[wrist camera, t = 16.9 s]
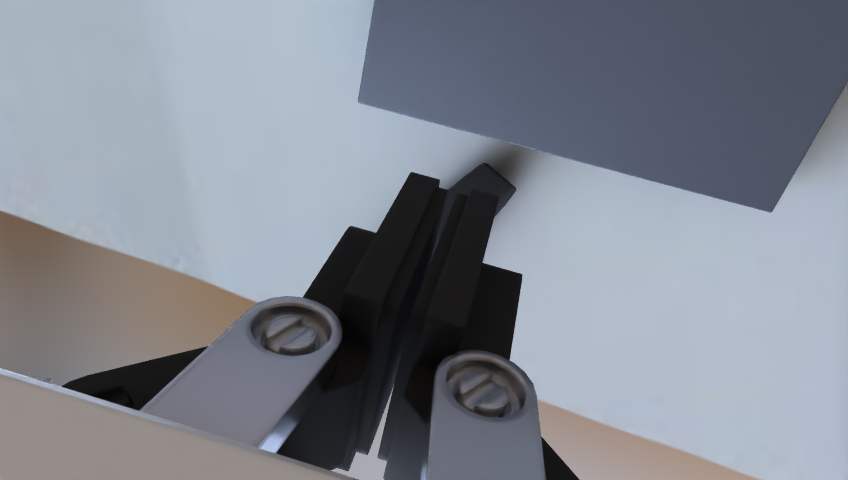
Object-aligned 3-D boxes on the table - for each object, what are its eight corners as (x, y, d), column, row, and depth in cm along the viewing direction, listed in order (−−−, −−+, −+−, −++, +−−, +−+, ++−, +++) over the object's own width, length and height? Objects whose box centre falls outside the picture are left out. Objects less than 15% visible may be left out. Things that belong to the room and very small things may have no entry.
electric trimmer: (536, 180, 37) (533, 205, 34) (378, 331, 45) (364, 361, 42) (487, 137, 36) (479, 158, 34) (334, 297, 44) (318, 325, 41)
